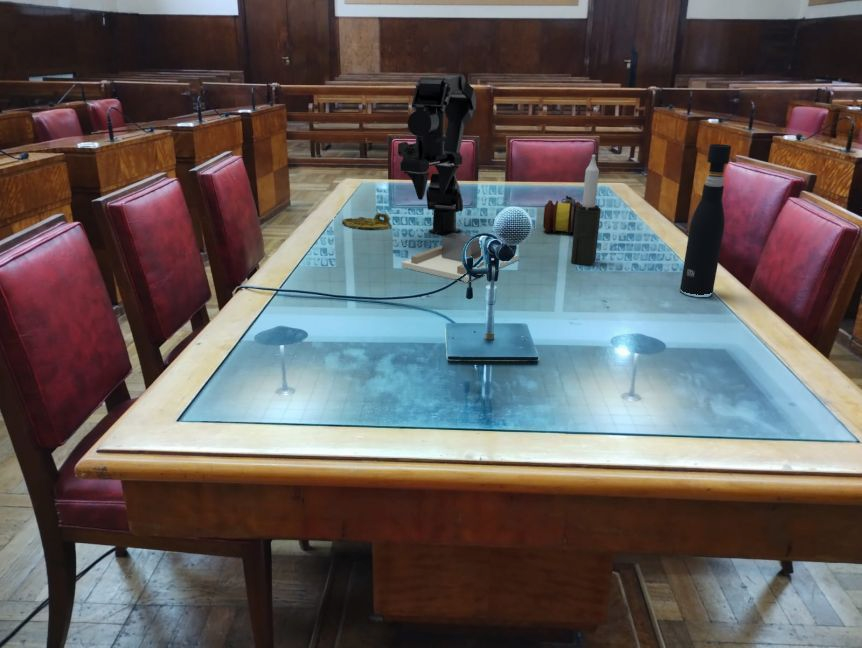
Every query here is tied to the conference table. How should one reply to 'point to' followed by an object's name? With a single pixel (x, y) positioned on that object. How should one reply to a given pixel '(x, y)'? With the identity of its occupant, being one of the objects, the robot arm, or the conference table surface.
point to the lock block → (459, 247)
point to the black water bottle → (706, 228)
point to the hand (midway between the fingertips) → (431, 196)
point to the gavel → (560, 215)
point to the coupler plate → (441, 264)
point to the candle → (587, 220)
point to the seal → (368, 223)
